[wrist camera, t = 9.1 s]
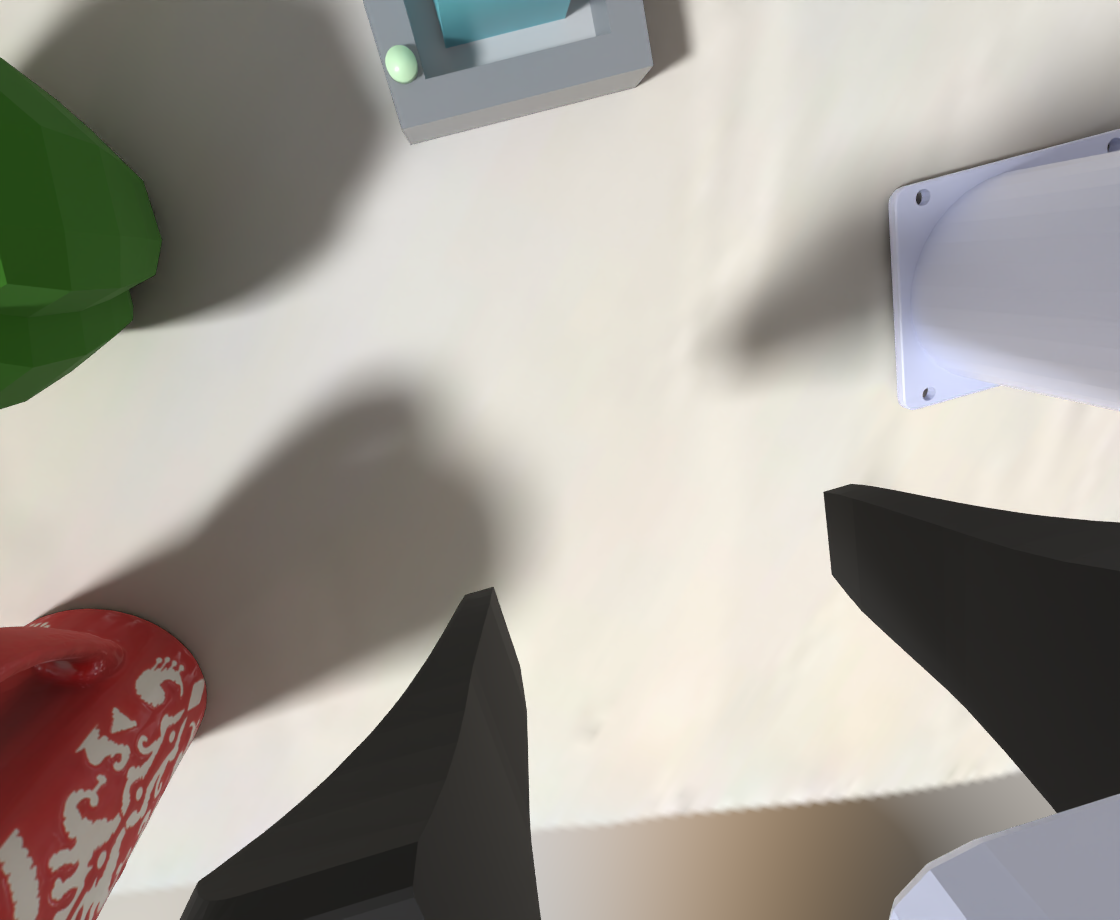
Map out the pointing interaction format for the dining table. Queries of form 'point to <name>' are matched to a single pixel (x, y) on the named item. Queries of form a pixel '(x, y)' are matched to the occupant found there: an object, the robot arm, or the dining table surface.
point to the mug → (85, 753)
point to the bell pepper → (62, 239)
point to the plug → (493, 17)
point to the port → (505, 64)
